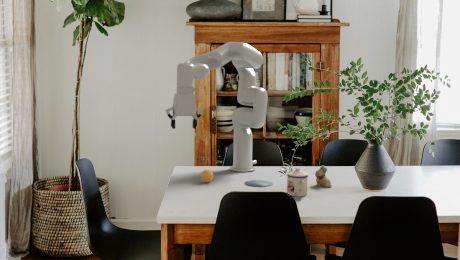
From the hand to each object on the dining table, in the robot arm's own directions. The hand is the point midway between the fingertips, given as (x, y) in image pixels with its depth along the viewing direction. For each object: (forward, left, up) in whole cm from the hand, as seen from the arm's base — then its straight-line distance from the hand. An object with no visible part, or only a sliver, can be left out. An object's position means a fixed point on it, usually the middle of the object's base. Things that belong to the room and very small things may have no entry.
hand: (183, 128), depth 313 cm
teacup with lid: (-16, +52, -26) cm, 60 cm away
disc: (-23, +26, -26) cm, 43 cm away
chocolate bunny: (-39, +51, -26) cm, 69 cm away
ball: (-9, +6, -23) cm, 25 cm away
